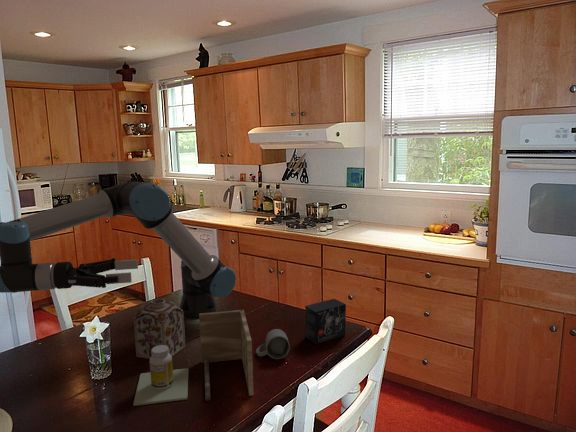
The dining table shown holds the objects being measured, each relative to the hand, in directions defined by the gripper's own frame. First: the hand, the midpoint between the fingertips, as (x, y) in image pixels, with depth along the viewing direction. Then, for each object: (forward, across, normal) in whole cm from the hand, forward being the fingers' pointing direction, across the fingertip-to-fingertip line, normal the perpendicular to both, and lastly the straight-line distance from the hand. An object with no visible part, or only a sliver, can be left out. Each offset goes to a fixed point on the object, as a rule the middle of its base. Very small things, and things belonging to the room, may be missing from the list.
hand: (134, 270), depth 132 cm
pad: (+7, +10, -32) cm, 34 cm away
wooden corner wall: (+25, +9, -32) cm, 41 cm away
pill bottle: (+7, +10, -32) cm, 34 cm away
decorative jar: (+5, -12, -32) cm, 35 cm away
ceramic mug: (+41, -2, -32) cm, 52 cm away
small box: (+61, -11, -32) cm, 70 cm away
